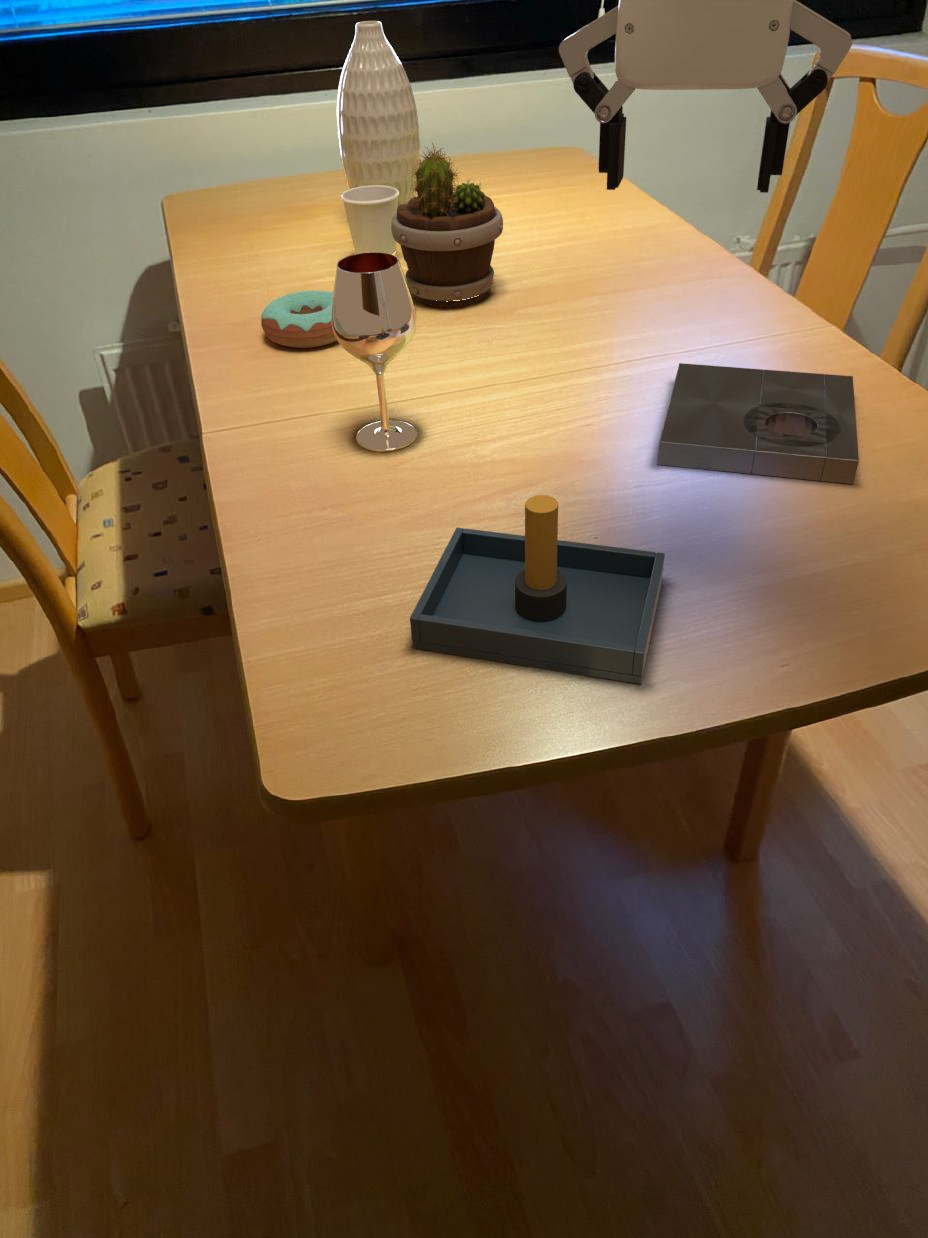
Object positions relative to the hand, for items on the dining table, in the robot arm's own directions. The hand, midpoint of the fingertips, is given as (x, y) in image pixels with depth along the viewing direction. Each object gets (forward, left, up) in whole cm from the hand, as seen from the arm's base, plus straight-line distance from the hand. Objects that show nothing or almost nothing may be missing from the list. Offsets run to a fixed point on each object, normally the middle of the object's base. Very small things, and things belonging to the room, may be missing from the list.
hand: (687, 185), depth 62 cm
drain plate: (-8, -23, -29) cm, 38 cm away
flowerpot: (+34, -54, -29) cm, 70 cm away
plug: (+7, +11, -28) cm, 31 cm away
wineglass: (+29, -14, -29) cm, 44 cm away
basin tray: (+7, +11, -29) cm, 32 cm away
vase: (+54, -83, -29) cm, 104 cm away
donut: (+48, -38, -29) cm, 68 cm away
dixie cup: (+49, -64, -29) cm, 86 cm away
